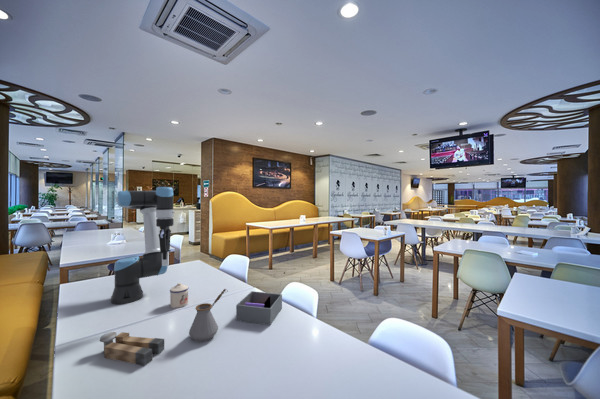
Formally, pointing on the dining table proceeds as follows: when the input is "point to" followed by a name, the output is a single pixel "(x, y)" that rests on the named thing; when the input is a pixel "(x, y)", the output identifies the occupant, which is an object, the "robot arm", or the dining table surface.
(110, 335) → the bar
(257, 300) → the frame
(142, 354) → the tongs lower arm
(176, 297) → the teacup with lid
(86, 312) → the dining table surface
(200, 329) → the coffee pot
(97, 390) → the dining table surface
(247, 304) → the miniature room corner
